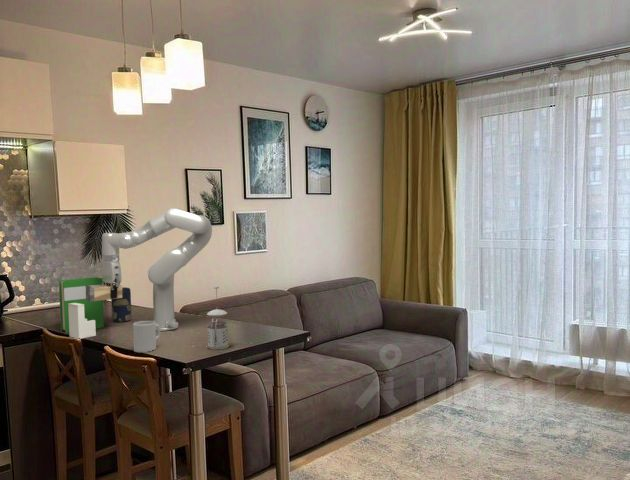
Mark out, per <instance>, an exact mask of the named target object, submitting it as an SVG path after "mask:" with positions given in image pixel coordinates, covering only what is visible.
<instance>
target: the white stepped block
mask: <svg viewBox="0 0 630 480" xmlns="http://www.w3.org/2000/svg"><path fill="white" fill-rule="evenodd" d="M68 310H69V332H68V333H69V338H72V337H75V338H74V339H77V338H80V339H85V338H90V337H95V336H97V333H96V331H97V328H96V327H95V320H91V321H87V319H85V314H84V304H79V303H70V304H68ZM80 339H79V340H80Z"/></svg>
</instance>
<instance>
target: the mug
mask: <svg viewBox="0 0 630 480" xmlns="http://www.w3.org/2000/svg"><path fill="white" fill-rule="evenodd" d="M132 328H133V331H132V332H133V352H135V353H141V352H142V353H149V352H148V351H151V352H153V351H152V350H154V351H156V350H157V341H158V340H159V339H160V336H161V331H160V328H159V325H157V324H155V322H154V320H140V321H135V322H133V323H132ZM155 328H156V329H157V331H156V330H155ZM155 349H156V350H155Z"/></svg>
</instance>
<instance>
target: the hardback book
mask: <svg viewBox="0 0 630 480" xmlns="http://www.w3.org/2000/svg"><path fill="white" fill-rule="evenodd" d="M86 285H90V286H92V287H98V286H103V282H102V277H98V276H97V277H96V276H95V277H83V278H73V279H72V278H71V279H60V280H58V290H59V291H58V292H59V315H60V317H59V318H60V319H59V320H60V331H61V332H63V331H64V333H65V334H67V333H69V310H68V304H70V303H79V304H84V314H85V319H87V321H91V320H95V327H96V329H102V328H105V327H104V326H105V324H104V320H105V319H104V300H100V301H92V302H89V301H86ZM101 327H102V328H101Z"/></svg>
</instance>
